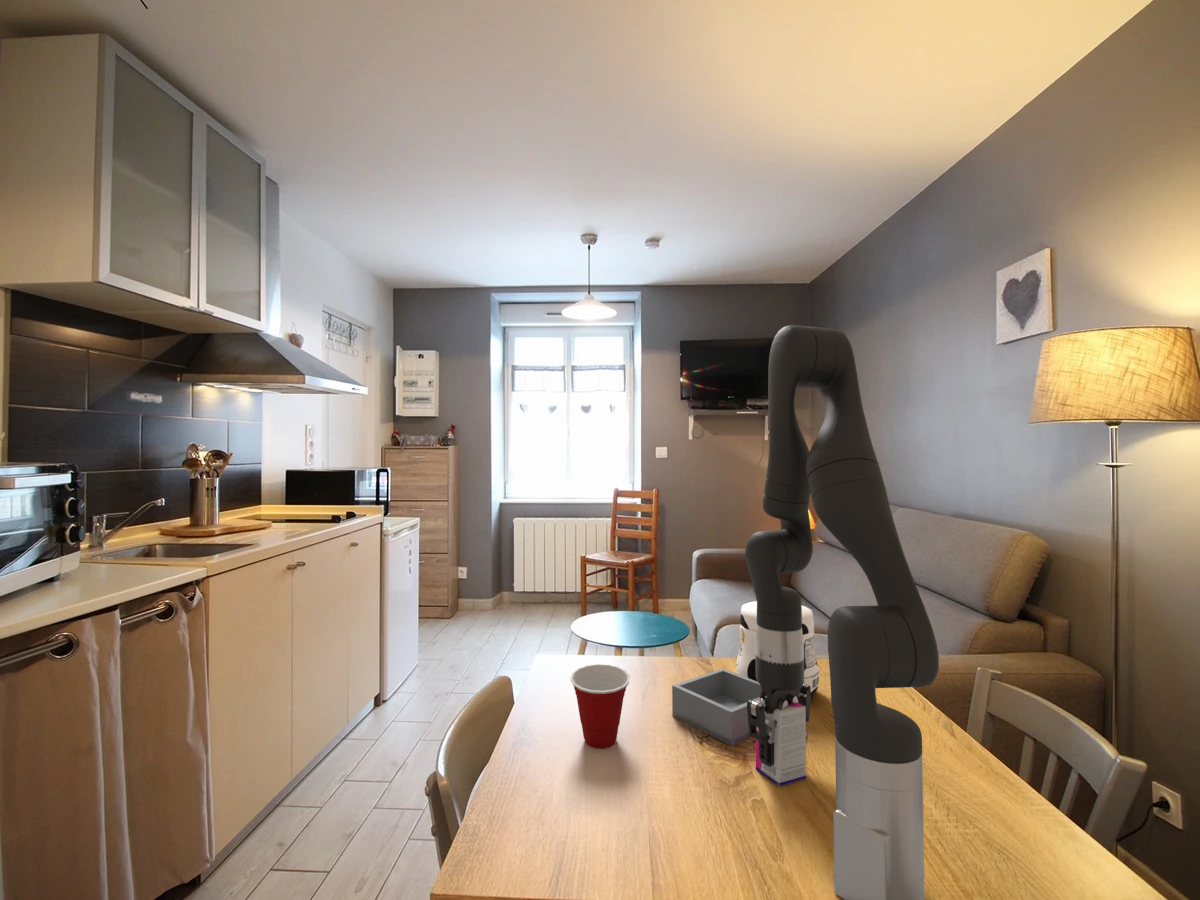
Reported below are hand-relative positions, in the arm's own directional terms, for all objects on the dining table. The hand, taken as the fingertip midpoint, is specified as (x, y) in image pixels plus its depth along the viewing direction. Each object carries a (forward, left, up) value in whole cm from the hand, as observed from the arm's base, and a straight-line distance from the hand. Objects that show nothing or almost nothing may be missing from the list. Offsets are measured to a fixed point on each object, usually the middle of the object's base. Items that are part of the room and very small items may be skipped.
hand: (780, 756), depth 90 cm
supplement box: (0, 0, -3) cm, 3 cm away
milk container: (+27, +20, -3) cm, 34 cm away
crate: (+8, +18, -3) cm, 20 cm away
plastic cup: (-17, +26, -3) cm, 31 cm away
